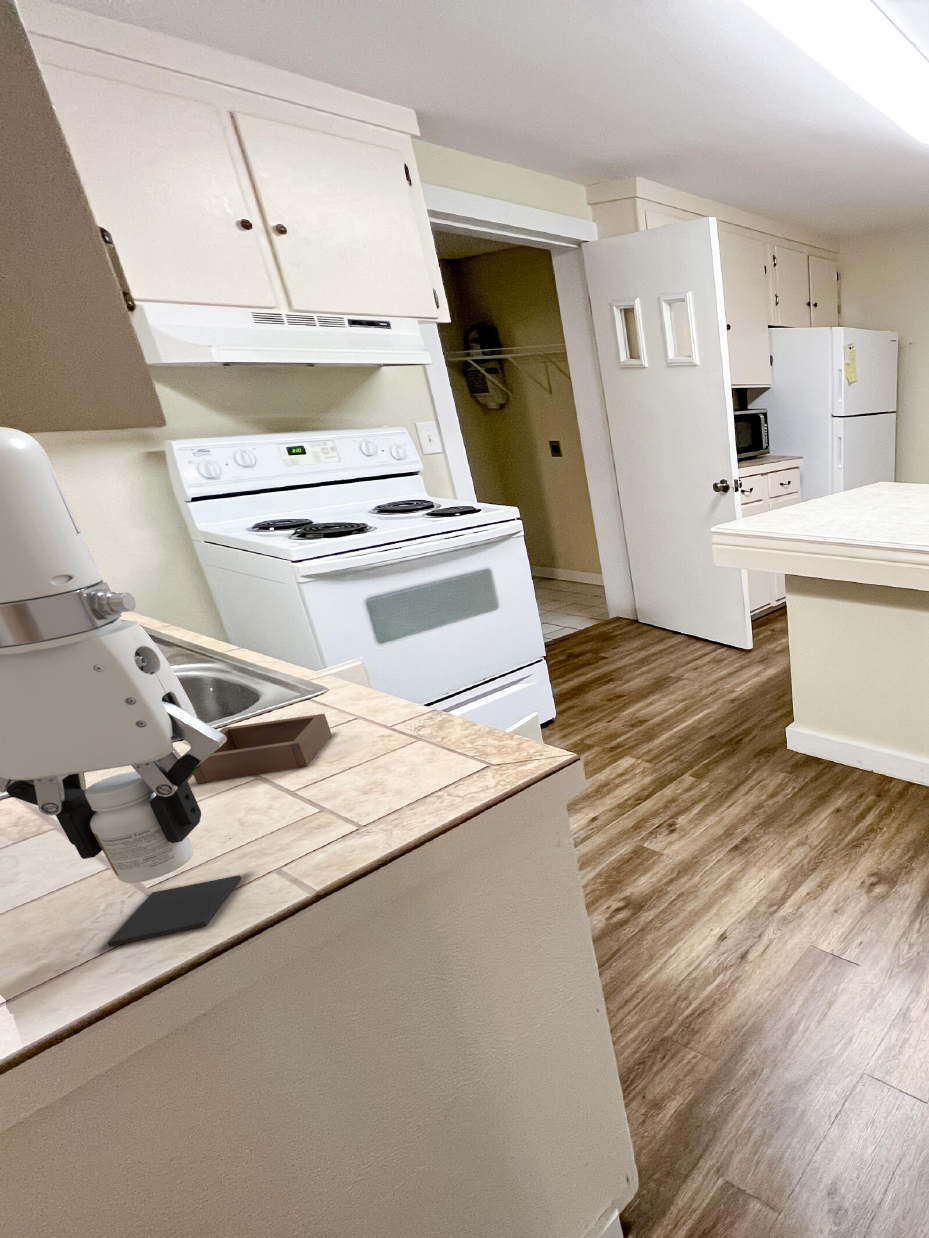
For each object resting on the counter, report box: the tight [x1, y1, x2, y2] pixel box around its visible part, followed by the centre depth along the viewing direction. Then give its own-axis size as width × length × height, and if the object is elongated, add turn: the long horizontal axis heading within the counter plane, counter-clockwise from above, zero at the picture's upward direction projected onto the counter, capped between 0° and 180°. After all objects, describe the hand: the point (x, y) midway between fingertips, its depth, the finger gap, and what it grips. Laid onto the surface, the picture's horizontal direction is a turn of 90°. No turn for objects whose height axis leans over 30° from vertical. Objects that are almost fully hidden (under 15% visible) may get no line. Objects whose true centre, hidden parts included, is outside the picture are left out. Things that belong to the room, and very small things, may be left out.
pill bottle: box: [85, 770, 195, 884], centre depth 53 cm, size 4×4×8 cm
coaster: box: [106, 874, 242, 947], centre depth 56 cm, size 6×6×1 cm
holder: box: [193, 713, 333, 785], centre depth 79 cm, size 10×8×3 cm
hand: (143, 837), depth 53 cm, fingers closed on pill bottle, 4 cm apart
